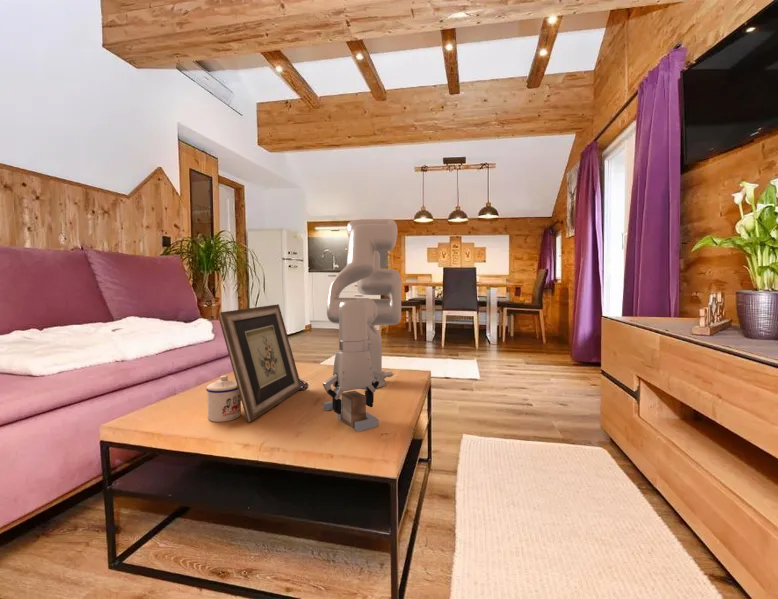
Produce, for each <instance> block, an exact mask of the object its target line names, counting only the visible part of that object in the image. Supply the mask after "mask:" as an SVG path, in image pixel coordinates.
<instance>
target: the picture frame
mask: <svg viewBox="0 0 778 599" xmlns="http://www.w3.org/2000/svg"><path fill="white" fill-rule="evenodd" d="M217 317H218V320H219V325H220V328H221V331H222V332H221V333H222V335H223V338H224V342H225V345H226V350H227V352H228V356H229V360H230V365H231V367H232V371H233V375H234V379H235V381H236V383H237V386H238V390H239V394H240V397H241V406H242V407H243V408H242V409H243V412H244V415H245V419H246V423H249V422H252V421H254V420H256V419H257V418H258V417H260V416H261V415H263V414H265V413H266V412H267V411H269V410H271V409H272V408H273V407H275V406H276V405H278V404H279V403H282V402H283V401H284V400H286V399H287V398H289V397H291V396H292V395H294V394H295V393H296V392H298V391H299V390H301V389H300V386H301V387H302V383H301V381H300V376H299V373H298V369H297V365H296V361H295V358H294V355H293V351H292V348H291V344H290V340H289V337H288V336H289V335H288V333H287V328H286V325H285V322H284V318H283V314H282V311H281V307H280V304H271V305H270V304H269V305H264V306H256V307H249V308H242V309H235V310H227V311H221V312H217Z"/></svg>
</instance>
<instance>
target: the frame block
mask: <svg viewBox="0 0 778 599" xmlns="http://www.w3.org/2000/svg"><path fill="white" fill-rule="evenodd" d="M341 399H342V409H341V411H342V420H341V422H342V423H343V424H345V425H347V426H348V427H349V428H351V429H355V422H358V421H362V420H366V412H367V405H366V396H365V394H363V393H361V392H359V391H357V390H349V391H343V393H342V394H341Z"/></svg>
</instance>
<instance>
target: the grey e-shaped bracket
mask: <svg viewBox="0 0 778 599" xmlns="http://www.w3.org/2000/svg"><path fill="white" fill-rule="evenodd" d="M340 399H341V414H337V420H339V421H342V398H340ZM323 410H324V411H332V410H333V408H332V400H331V401H330V400H329V401H326V402H323ZM379 421H380V420H379V418H377V417H376V416H374V415H373V414H370V413H369V412H367V411H366V420H362V421H358V422H355V428H354V431H356V432H357V431H358V432H362V431H366V430H370V429H373V428H372V427H374V428H377V427H376V426H378V427H379V425H380V424H379V423H380V422H379ZM369 428H370V429H369ZM365 429H366V430H365ZM361 430H362V431H361Z"/></svg>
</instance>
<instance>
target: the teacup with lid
mask: <svg viewBox="0 0 778 599" xmlns="http://www.w3.org/2000/svg"><path fill="white" fill-rule="evenodd" d="M228 377H229V376H228V375H220V377H219V379H217V380H216V381H214V382H212V383H209V384H208V385H207V386H206V388H205V390H206V392H207V394H206V396H207V401H206V402H207V419H208V420H209V421H210V422H214V423H223V422H229V421H234V420H235V419H236V420H237V419H238V418H239V417H241V414H242V401H241V397H240V394H239V390H238V386H237V383H236V380H234V379H231V378H228Z"/></svg>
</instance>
